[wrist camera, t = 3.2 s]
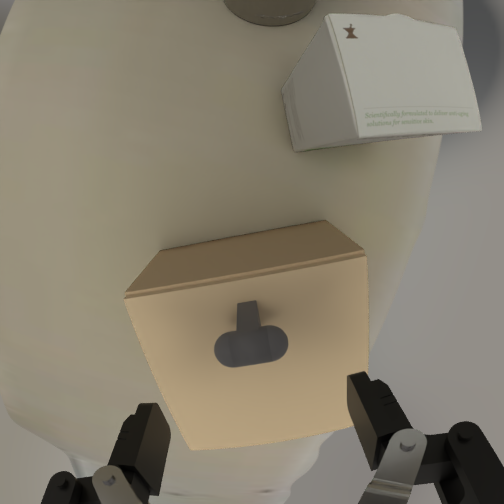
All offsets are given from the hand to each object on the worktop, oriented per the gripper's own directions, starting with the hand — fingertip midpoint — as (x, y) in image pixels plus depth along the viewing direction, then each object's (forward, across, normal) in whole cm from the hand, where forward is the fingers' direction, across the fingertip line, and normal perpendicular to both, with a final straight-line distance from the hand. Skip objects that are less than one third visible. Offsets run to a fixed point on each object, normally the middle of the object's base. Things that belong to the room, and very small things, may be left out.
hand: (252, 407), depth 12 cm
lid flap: (+9, 0, +5) cm, 10 cm away
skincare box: (+19, -10, -13) cm, 25 cm away
